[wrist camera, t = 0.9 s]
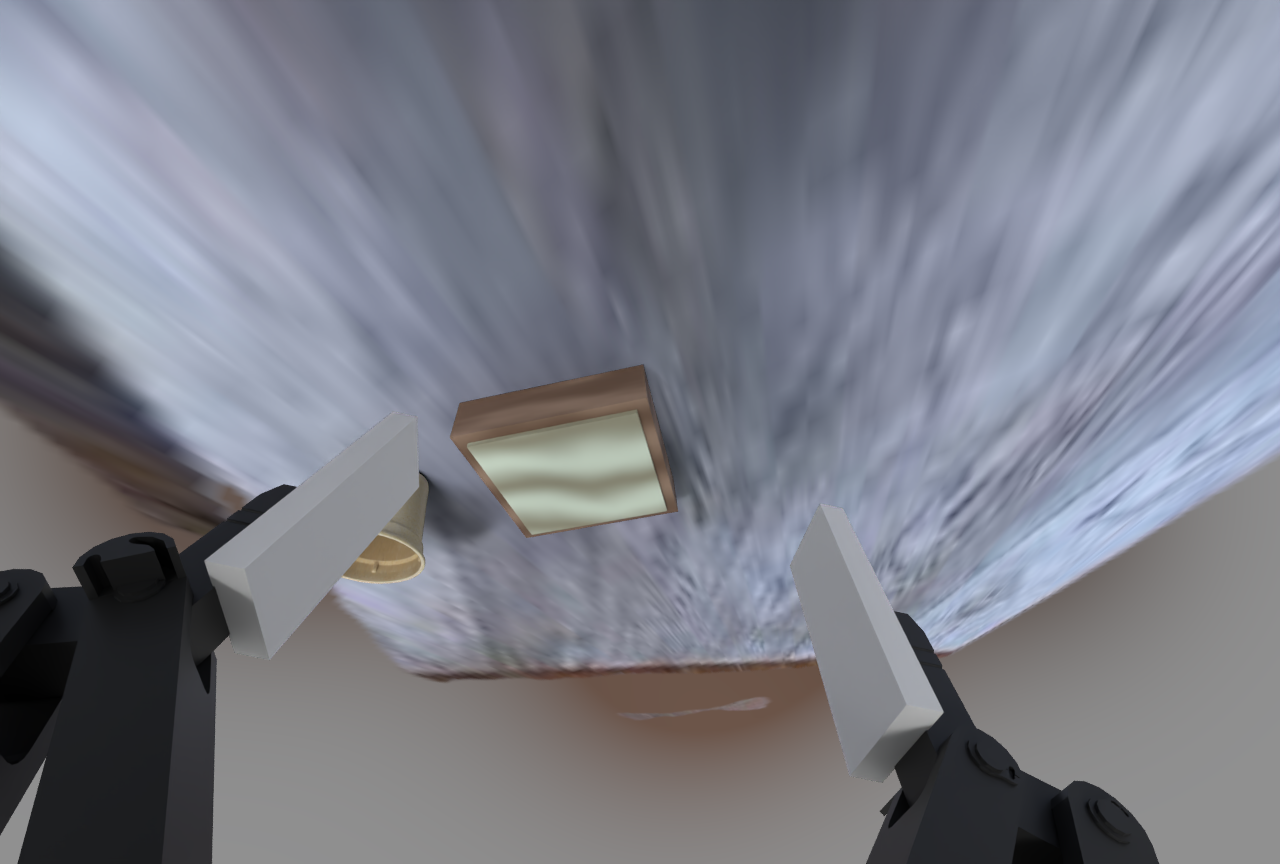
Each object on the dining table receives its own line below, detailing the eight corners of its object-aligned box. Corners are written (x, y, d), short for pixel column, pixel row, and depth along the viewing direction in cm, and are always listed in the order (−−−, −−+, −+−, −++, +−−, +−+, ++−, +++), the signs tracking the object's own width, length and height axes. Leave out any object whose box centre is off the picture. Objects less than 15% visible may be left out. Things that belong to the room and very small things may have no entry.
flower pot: (328, 486, 47) (289, 565, 41) (364, 435, 42) (326, 517, 36) (420, 517, 52) (398, 592, 46) (462, 475, 47) (443, 553, 41)
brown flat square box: (459, 403, 40) (448, 441, 37) (643, 364, 38) (647, 401, 35) (530, 505, 52) (526, 541, 49) (673, 479, 50) (678, 514, 47)
